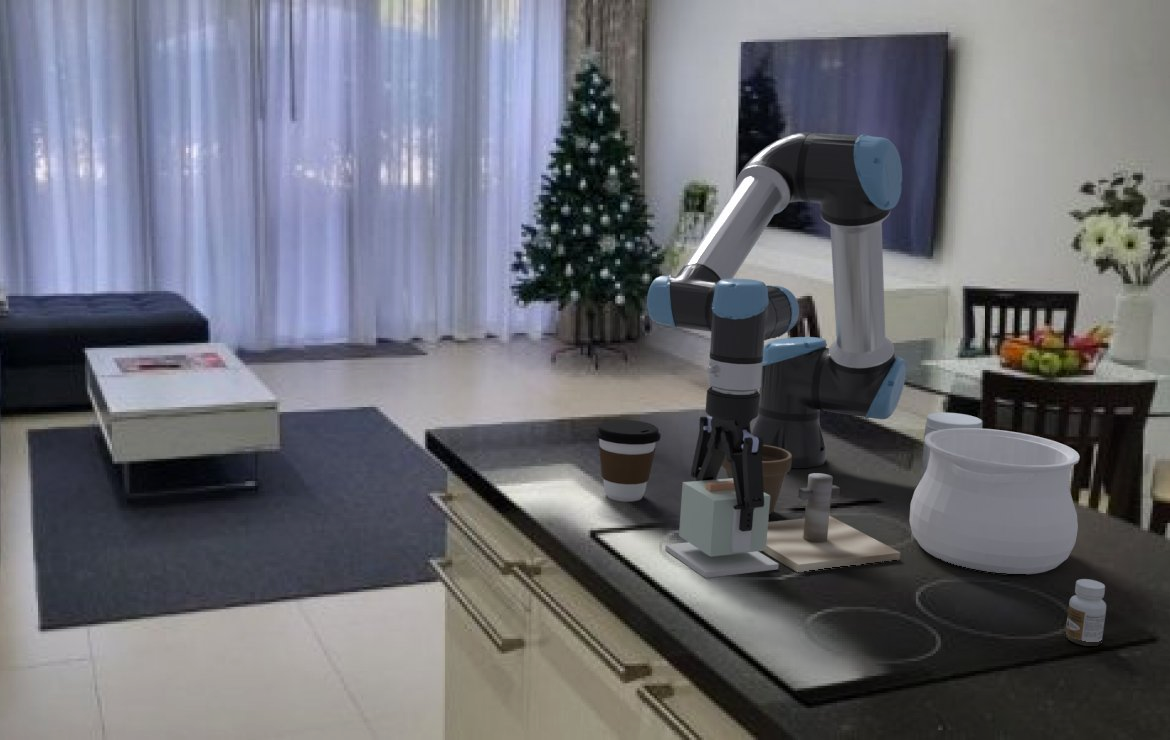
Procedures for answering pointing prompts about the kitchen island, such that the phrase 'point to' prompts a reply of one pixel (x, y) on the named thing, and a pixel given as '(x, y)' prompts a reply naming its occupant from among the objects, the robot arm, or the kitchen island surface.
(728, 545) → the cube with orange handle
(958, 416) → the supplement tub
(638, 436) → the coffee cup
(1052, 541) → the pot
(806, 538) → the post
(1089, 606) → the pill bottle
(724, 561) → the pad
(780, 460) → the flower pot
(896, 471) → the kitchen island surface
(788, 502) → the kitchen island surface
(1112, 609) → the kitchen island surface
